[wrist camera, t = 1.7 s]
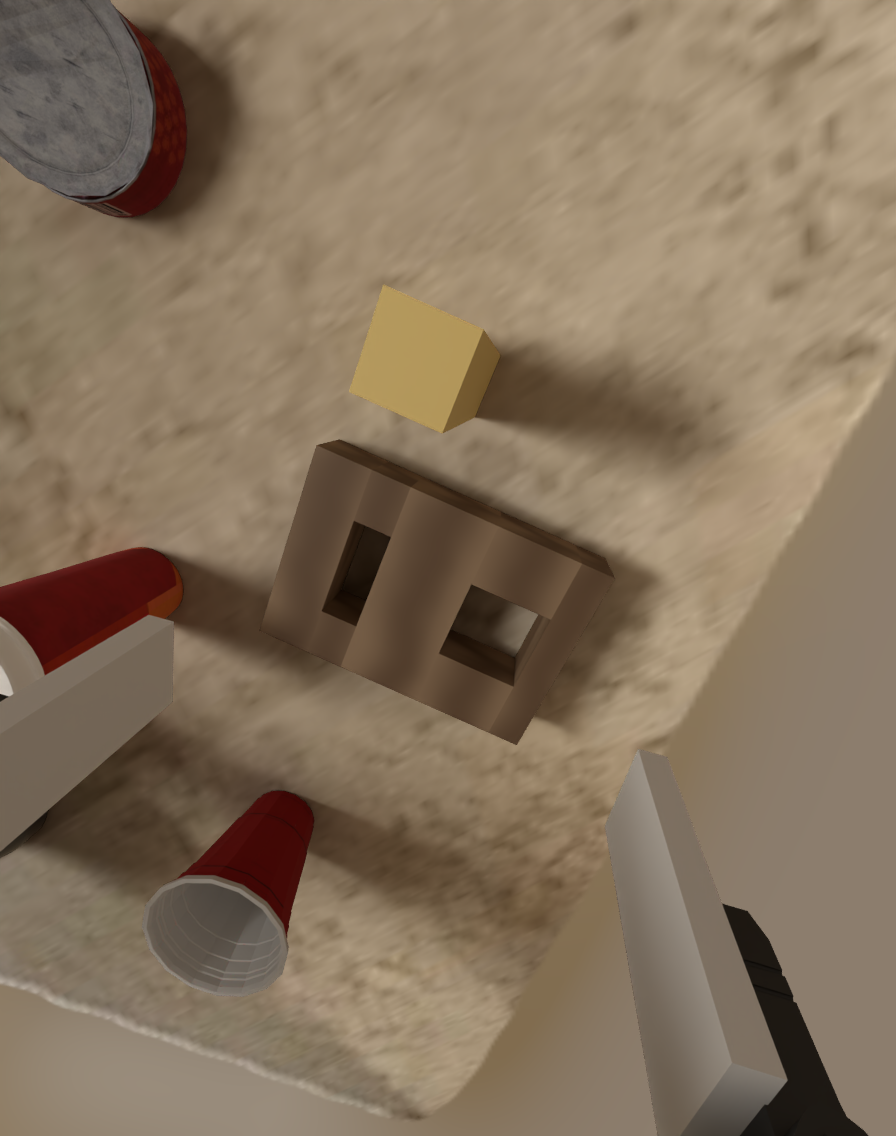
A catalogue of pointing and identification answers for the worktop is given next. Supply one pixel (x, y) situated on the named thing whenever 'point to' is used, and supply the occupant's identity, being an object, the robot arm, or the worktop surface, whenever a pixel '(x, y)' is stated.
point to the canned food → (88, 105)
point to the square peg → (424, 363)
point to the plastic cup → (234, 902)
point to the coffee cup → (79, 610)
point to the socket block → (428, 590)
